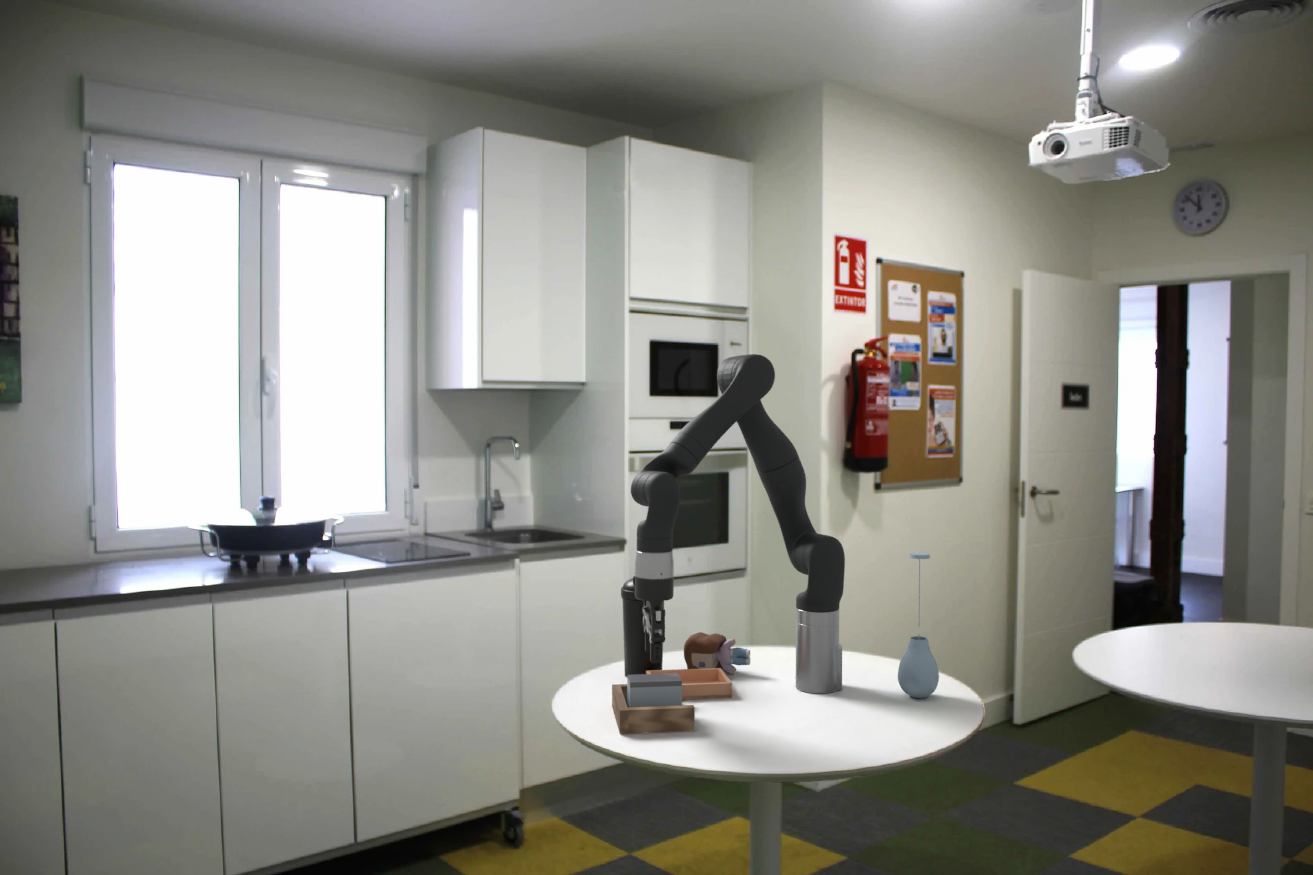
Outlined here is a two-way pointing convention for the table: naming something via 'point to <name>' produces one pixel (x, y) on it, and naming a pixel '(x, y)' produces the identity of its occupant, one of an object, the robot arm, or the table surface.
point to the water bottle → (635, 633)
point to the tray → (701, 682)
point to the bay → (650, 715)
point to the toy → (714, 652)
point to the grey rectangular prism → (654, 690)
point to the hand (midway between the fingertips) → (653, 657)
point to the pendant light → (918, 660)
